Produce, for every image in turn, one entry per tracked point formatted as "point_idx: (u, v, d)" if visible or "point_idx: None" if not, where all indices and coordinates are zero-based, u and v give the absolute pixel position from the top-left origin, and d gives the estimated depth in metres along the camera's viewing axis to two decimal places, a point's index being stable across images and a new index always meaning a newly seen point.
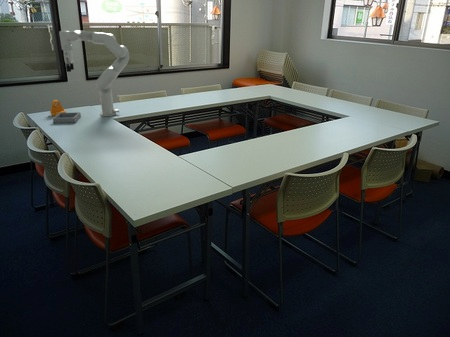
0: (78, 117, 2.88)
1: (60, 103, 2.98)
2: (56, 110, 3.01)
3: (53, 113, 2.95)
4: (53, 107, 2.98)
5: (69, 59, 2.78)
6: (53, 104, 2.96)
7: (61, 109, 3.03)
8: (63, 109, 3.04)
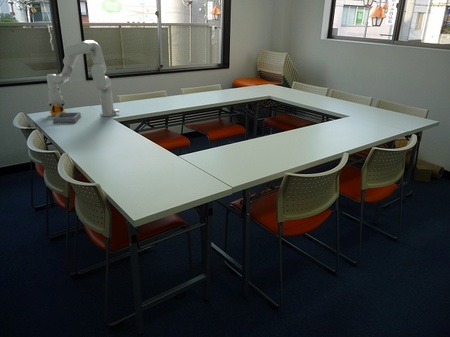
0: (78, 117, 2.88)
1: None
2: (56, 110, 3.01)
3: (53, 113, 2.95)
4: None
5: (62, 98, 2.98)
6: (53, 104, 2.96)
7: None
8: (63, 109, 3.04)
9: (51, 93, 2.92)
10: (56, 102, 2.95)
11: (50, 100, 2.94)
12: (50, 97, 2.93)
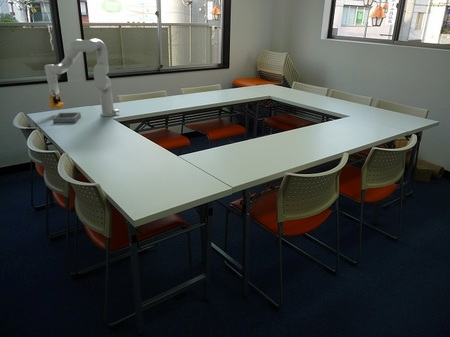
0: (78, 117, 2.88)
1: (58, 95, 2.97)
2: None
3: (58, 105, 2.93)
4: None
5: None
6: None
7: None
8: None
9: (55, 83, 2.90)
10: (58, 92, 2.95)
11: (56, 91, 2.90)
12: (55, 88, 2.90)
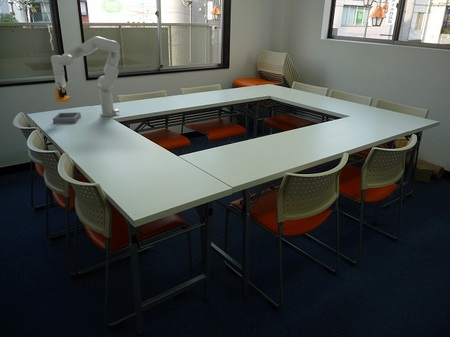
0: (78, 117, 2.88)
1: (64, 88, 2.79)
2: None
3: (64, 99, 2.75)
4: None
5: None
6: None
7: None
8: None
9: (62, 76, 2.72)
10: (64, 85, 2.77)
11: (62, 84, 2.72)
12: (62, 80, 2.72)
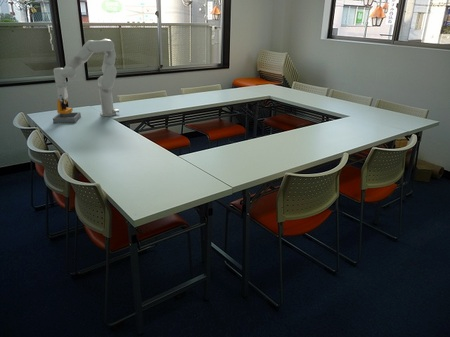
0: (78, 117, 2.88)
1: (66, 100, 2.83)
2: None
3: (66, 110, 2.79)
4: (60, 105, 2.79)
5: None
6: None
7: None
8: None
9: (64, 88, 2.75)
10: (66, 97, 2.81)
11: (64, 96, 2.76)
12: (64, 93, 2.75)
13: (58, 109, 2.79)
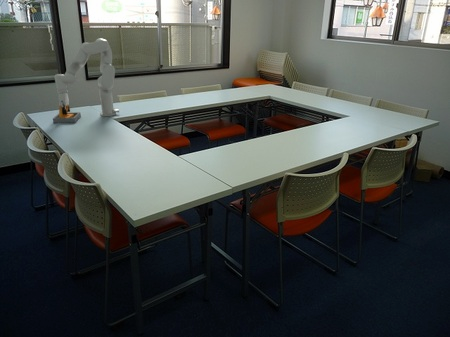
0: (78, 117, 2.88)
1: None
2: None
3: (68, 117, 2.81)
4: None
5: None
6: None
7: None
8: (67, 113, 2.90)
9: (65, 94, 2.77)
10: (67, 103, 2.83)
11: (65, 102, 2.78)
12: (65, 99, 2.77)
13: (60, 116, 2.81)
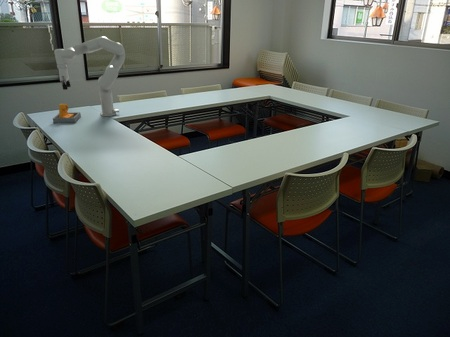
0: (78, 117, 2.88)
1: None
2: (64, 114, 2.85)
3: (68, 117, 2.81)
4: (62, 111, 2.82)
5: None
6: (64, 108, 2.80)
7: (66, 113, 2.88)
8: (67, 113, 2.90)
9: (65, 69, 2.77)
10: (68, 78, 2.83)
11: (66, 77, 2.78)
12: (66, 74, 2.77)
13: (60, 116, 2.81)
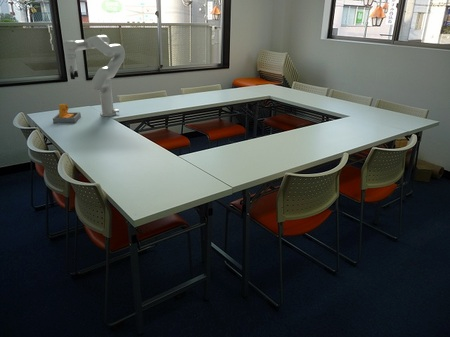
0: (78, 117, 2.88)
1: None
2: (64, 114, 2.85)
3: (68, 117, 2.81)
4: (62, 111, 2.82)
5: None
6: (64, 108, 2.80)
7: (66, 113, 2.88)
8: (67, 113, 2.90)
9: (74, 60, 2.92)
10: (76, 69, 2.97)
11: (74, 67, 2.93)
12: (74, 64, 2.92)
13: (60, 116, 2.81)
